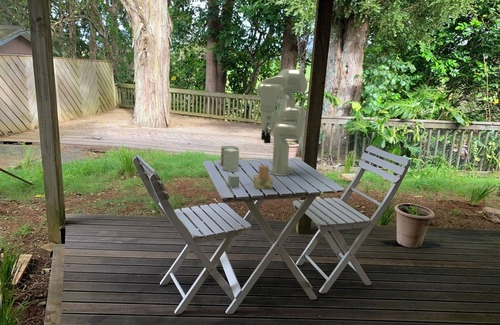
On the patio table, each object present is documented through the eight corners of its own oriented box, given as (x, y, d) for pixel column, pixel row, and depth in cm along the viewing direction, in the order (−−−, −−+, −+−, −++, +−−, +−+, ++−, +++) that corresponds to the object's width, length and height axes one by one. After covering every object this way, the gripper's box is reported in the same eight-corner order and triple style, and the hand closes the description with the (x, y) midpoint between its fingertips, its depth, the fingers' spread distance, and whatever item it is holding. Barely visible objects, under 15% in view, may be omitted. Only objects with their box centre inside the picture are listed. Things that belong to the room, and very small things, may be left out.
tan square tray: (269, 184, 207) (270, 175, 206) (272, 188, 198) (272, 179, 197) (253, 183, 206) (253, 174, 205) (255, 188, 197) (256, 179, 196)
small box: (238, 171, 233) (239, 150, 230) (230, 172, 229) (231, 151, 226) (230, 168, 239) (231, 148, 236) (222, 169, 235) (223, 149, 232)
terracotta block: (266, 176, 203) (267, 165, 202) (268, 178, 199) (268, 167, 198) (258, 176, 203) (259, 165, 201) (259, 178, 198) (260, 167, 197)
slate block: (235, 185, 202) (236, 174, 201) (238, 187, 198) (239, 176, 196) (228, 185, 200) (228, 174, 199) (230, 188, 196) (231, 176, 195)
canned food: (219, 163, 252) (220, 145, 249) (236, 163, 254) (236, 145, 252) (222, 167, 241) (222, 148, 238) (239, 167, 243) (240, 149, 241)
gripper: (277, 110, 185) (275, 144, 189) (271, 107, 202) (269, 138, 206) (262, 110, 184) (260, 144, 188) (257, 107, 201) (256, 138, 205)
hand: (265, 141), depth 197 cm, fingers open, 9 cm apart
